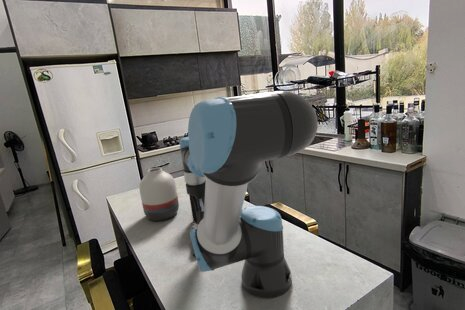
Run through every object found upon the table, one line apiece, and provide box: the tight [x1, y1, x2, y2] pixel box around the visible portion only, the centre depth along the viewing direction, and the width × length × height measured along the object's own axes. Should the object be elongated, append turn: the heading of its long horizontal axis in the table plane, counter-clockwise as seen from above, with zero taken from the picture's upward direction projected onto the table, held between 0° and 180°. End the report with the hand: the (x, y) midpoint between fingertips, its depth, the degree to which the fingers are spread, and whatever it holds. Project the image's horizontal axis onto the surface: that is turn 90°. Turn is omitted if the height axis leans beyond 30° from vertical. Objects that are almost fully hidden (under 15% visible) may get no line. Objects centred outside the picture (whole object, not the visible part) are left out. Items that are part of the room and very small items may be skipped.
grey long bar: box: [190, 221, 198, 257], centre depth 111 cm, size 20×5×3 cm, turn 11°
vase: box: [138, 167, 180, 222], centre depth 135 cm, size 17×17×24 cm
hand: (204, 241), depth 102 cm, fingers closed
